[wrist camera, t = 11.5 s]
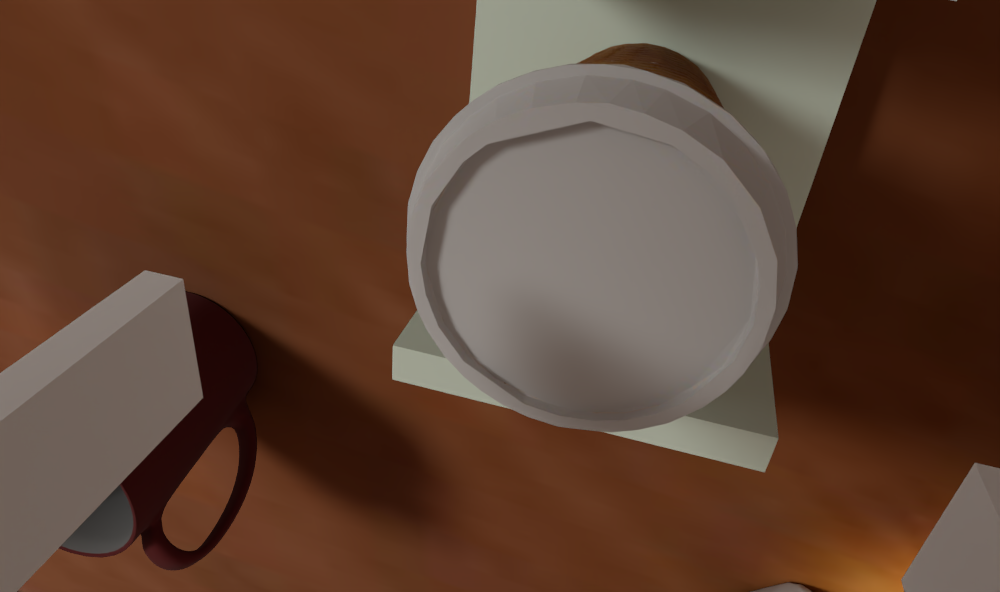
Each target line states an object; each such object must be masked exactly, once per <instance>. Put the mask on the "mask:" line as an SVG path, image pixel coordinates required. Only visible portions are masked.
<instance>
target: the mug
mask: <svg viewBox="0 0 1000 592" xmlns="http://www.w3.org/2000/svg"><path fill="white" fill-rule="evenodd" d="M185 293H186V299H187V305H188V311H189V317H190V323H191V328H192V334H193V340H194V346H195V352H196V358H197V364H198V370H199V376H200V381H201V387H202V393H203V398H202V399H201V400H200V401H199V402H198V403H197V405H196V406H195V407H194V408H193V409H192V410H191V411H190V412H189V413H188V414H187V415H186V416H185V417H184V418H183V419H182V420H181V421H180V422H179V423H178V424H177V425H176V426H175V427H174V428H173V430H172V431H171V432H170V433H169V434H168V435H167V436H166V437H165V438H164V439H163V440H162V441H161V442H160V443H159V444H158V445H157V446H156V447H155V448H154V449H153V450H152V451H151V452H150V453H149V454H148V456H147V457H146V458H145V459H144V460H143V461H142V462H141V463H140V464H139V465H138V466H137V467H136V468H135V469H134V470H133V471H132V472H131V473H130V474H129V475H128V476H127V477H126V478H125V479H124V480H123V482H122V483H121V484H120V485H119V486H118V487H117V488H116V489H115V490H114V491H113V492H112V493H111V494H110V495H109V496H108V497H107V498H106V499H105V500H104V501H103V502H102V503H101V504H100V505H99V506H98V508H97V509H96V510H95V511H94V512H93V513H92V514H91V515H90V516H89V517H88V518H87V519H86V520H85V521H84V522H83V523H82V524H81V525H80V526H79V527H78V528H77V529H76V530H75V531H74V532H73V534H72V535H71V536H70V537H69V538H68V539H67V540H66V541H65V542H64V543H63V544H62V545H61V546H60V547H59V549H62V550H65V551H67V552H70V553H74V554H79V555H83V556H88V557H107V556H113V555H116V554H119V553H121V552H123V551H124V550H126V549H127V548H128V547H129V546H130V545H131V544H132V543H133V542H134V541H135V540H136V538H137V537H138V536H139V535H140V534H141V536H142V544H143V549H144V551H145V553H146V555H147V556H148V558H149V559H150V560H151V561H152V562H153V563H154V564H156V565H157V566H159V567H160V568H163V569H166V570H180V569H184V568H187V567H189V566H191V565H193V564H194V563H196V562H198V561H199V560H200V559H202V558H203V557H205V556H206V555H207V554H208V553H209V552H210V551H211V550H212V549H213V548H214V547H215V546H216V545H217V544H218V542H219V541H220V540H221V539H222V537H223V536H224V534H225V533H226V532H227V530H228V529H229V527H230V525H231V524H232V522H233V521H234V519H235V517H236V515H237V513H238V512H239V510H240V508H241V506H242V503H243V501H244V499H245V497H246V494H247V492H248V489H249V486H250V483H251V480H252V476H253V472H254V468H255V461H256V452H257V437H256V428H255V424H254V421H253V418H252V415H251V413H250V411H249V408H248V406H247V403H246V395H247V393H248V391H249V390H250V389H251V387H252V385H253V383H254V382H255V379H256V375H257V360H256V355H255V352H254V349H253V346H252V344H251V342H250V340H249V338H248V336H247V335H246V333H245V332H244V330H243V329H242V328H241V326H240V325H239V324H238V323H237V322H236V321H235V320H234V319H233V318H232V316H230V315H229V314H228V313H227V312H226V311H225V310H223V309H222V308H221V307H219V306H218V305H216V304H215V303H213V302H211V301H210V300H208V299H206V298H203V297H201V296H199V295H196V294H193V293H189V292H185ZM226 427H232V428H233V429H235V431H236V433H237V436H238V441H239V466H238V473H237V477H236V481H235V485H234V488H233V491H232V494H231V496H230V499H229V501H228V503H227V505H226V508H225V510H224V512H223V513H222V515H221V517H220V519H219V521H218V522H217V524H216V526H215V527H214V529H213V530H212V532H211V533H210V535H209V536H208V538H207V539H206V540H205V542H204V543H203V544H202V545H201V546H200V547H199V548H198V549H197V550H194V551H184V550H181V549H178V548H177V547H175V546H174V545H172V544H171V543H170V542H169V540H168V539H167V538H166V536H165V534H164V532H163V528H162V521H161V517H162V514H163V511H164V508H165V506H166V504H167V502H168V501H169V499H170V498H171V496H172V495H173V493H174V492H175V490H176V489H177V488H178V486H179V485H180V483H181V482H182V481H183V479H184V478H185V477H186V475H187V474H188V473H189V471H190V470H191V469H192V467H193V466H194V465H195V463H196V462H197V461H198V459H199V458H200V457H201V455H202V454H203V453H204V451H205V450H206V449H207V447H208V446H209V445H210V443H211V442H212V441H213V439H214V438H215V437H216V436H217V435H218V433H219V432H220V431H221V430H222V429H223V428H226Z"/></svg>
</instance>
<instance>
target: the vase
mask: <svg viewBox="0 0 1000 592" xmlns="http://www.w3.org/2000/svg"><path fill="white" fill-rule="evenodd" d="M750 592H812V591H811V590H809V589H808V588H806V587H805V586H803V585H801V584H794V583H790V582H788V583H783V584H778V585H774V586H770V587H766V588H762V589H758V590H754V591H750Z"/></svg>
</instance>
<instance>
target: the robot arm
mask: <svg viewBox="0 0 1000 592" xmlns="http://www.w3.org/2000/svg"><path fill="white" fill-rule="evenodd" d="M202 398H203V393H202V387H201V381H200V376H199V370H198V364H197V358H196V352H195V346H194V340H193V334H192V328H191V323H190V317H189V311H188V305H187V299H186V293H185V287H184V281H183V279H180V278H176V277H172V276H168V275H163V274H159V273H155V272H150V271H146V270H145V271H143V272H142V273H141V274H139V275H138V276H136V277H135V278H134V279H132V280H131V281H129V282H128V283H127V284H125V285H124V286H122V287H121V288H119V289H118V290H117V291H115V292H114V293H112V294H111V295H110V296H108V297H107V298H105V299H104V300H103V301H101V302H100V303H98V304H97V305H96V306H94V307H93V308H91V309H90V310H89V311H87V312H86V313H84V314H83V315H82V316H80V317H79V318H77V319H76V320H74V321H73V322H72V323H70V324H69V325H67V326H66V327H65V328H63V329H62V330H60V331H59V332H58V333H56V334H55V335H53V336H52V337H51V338H49V339H48V340H46V341H45V342H44V343H42V344H41V345H39V346H38V347H36V348H35V349H34V350H32V351H31V352H29V353H28V354H27V355H25V356H24V357H22V358H21V359H20V360H18V361H17V362H15V363H14V364H13V365H11V366H10V367H8V368H7V369H6V370H4V371H3V372H1V373H0V592H17V591H18V590H19V589H20V588H21V587H22V586H23V584H24V583H25V582H26V581H27V580H28V579H29V578H30V577H31V576H32V575H33V574H34V573H35V572H36V571H37V570H38V569H39V568H40V567H41V566H42V565H43V564H44V563H45V562H46V561H47V560H48V558H49V557H50V556H51V555H52V554H53V553H54V552H55V551H56V550H57V549H58V548H59V547H60V546H61V545H62V544H63V543H64V542H65V541H66V540H67V539H68V538H69V537H70V536H71V535H72V534H73V532H74V531H75V530H76V529H77V528H78V527H79V526H80V525H81V524H82V523H83V522H84V521H85V520H86V519H87V518H88V517H89V516H90V515H91V514H92V513H93V512H94V511H95V510H96V509H97V508H98V506H99V505H100V504H101V503H102V502H103V501H104V500H105V499H106V498H107V497H108V496H109V495H110V494H111V493H112V492H113V491H114V490H115V489H116V488H117V487H118V486H119V485H120V484H121V483H122V482H123V480H124V479H125V478H126V477H127V476H128V475H129V474H130V473H131V472H132V471H133V470H134V469H135V468H136V467H137V466H138V465H139V464H140V463H141V462H142V461H143V460H144V459H145V458H146V457H147V456H148V454H149V453H150V452H151V451H152V450H153V449H154V448H155V447H156V446H157V445H158V444H159V443H160V442H161V441H162V440H163V439H164V438H165V437H166V436H167V435H168V434H169V433H170V432H171V431H172V430H173V428H174V427H175V426H176V425H177V424H178V423H179V422H180V421H181V420H182V419H183V418H184V417H185V416H186V415H187V414H188V413H189V412H190V411H191V410H192V409H193V408H194V407H195V406H196V405H197V403H198V402H199V401H200V400H201V399H202ZM902 584H903V588H904V592H1000V468H996V467H991V466H987V465H983V464H978V463H974V465H973V467H972V468H971V470H970V471H969V473H968V474H967V476H966V478H965V479H964V481H963V482H962V484H961V486H960V487H959V489H958V490H957V492H956V494H955V495H954V497H953V498H952V500H951V502H950V503H949V505H948V506H947V508H946V510H945V511H944V513H943V514H942V516H941V517H940V519H939V521H938V522H937V524H936V525H935V527H934V529H933V530H932V532H931V533H930V535H929V537H928V538H927V540H926V541H925V543H924V545H923V546H922V548H921V549H920V551H919V552H918V554H917V556H916V557H915V559H914V560H913V562H912V564H911V565H910V567H909V568H908V570H907V572H906V573H905V575H904V576H903V578H902Z"/></svg>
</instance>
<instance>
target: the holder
mask: <svg viewBox="0 0 1000 592" xmlns="http://www.w3.org/2000/svg"><path fill="white" fill-rule="evenodd" d="M876 1H877V0H477V7H476V21H475V34H474V48H473V62H472V75H471V89H470V102H469V104H470V103H471V102H472V101H473V100H474V99H476V98H477V97H479V96H481V95H482V94H484V93H485V92H487V91H489V90H490V89H492V88H493V87H495V86H497V85H498V84H500V83H503V82H505V81H508V80H511V79H513V78H516V77H519V76H521V75H524V74H527V73H529V72H532V71H535V70H541V69H546V68H551V67H556V66H561V65H566V64H576V63H578V62H580V61H582V60H584V59H586V58H588V57H590V56H592V55H593V54H595V53H597V52H600V51H602V50H604V49H607V48H609V47H612V46H617V45H622V44H635V43H648V44H653V45H658V46H662V47H666V48H668V49H671V50H673V51H675V52H677V53H679V54H681V55H682V56H684V57H686V58H687V59H689V60H690V61H691V62H693V63H694V64H695V65H697V66H698V67H699V68H700V70H701V71H702V72H703V73H704V75H705V76H706V77H707V78H708V80H709V82H710V83H711V85H712V87H713V89H714V90H715V92H716V94H717V97H718V98H719V100H720V102H721V104H722V106H723V107H724V109H726V110H727V111H729V112H730V113H731V114H732V115H733V116H734V117H735V118H736V119H737V120H738V121H739V122H740V123H741V124H742V125H743V126H744V127H745V129H746V130H747V131H748V132H749V133H750V134H751V135H752V136H753V137H754V138H755V139H756V140H757V141H758V143H759V144H760V145H761V147H762V148H763V149H764V151H765V152H766V154H767V155H768V157H769V158H770V160H771V161H772V163H773V164H774V166H775V168H776V170H777V172H778V174H779V176H780V178H781V180H782V182H783V184H784V186H785V188H786V190H787V193H788V197H789V200H790V204H791V208H792V212H793V216H794V220H795V224H796V228H797V225H798V223H799V220H800V217H801V214H802V211H803V208H804V205H805V203H806V200H807V197H808V194H809V191H810V188H811V186H812V183H813V180H814V177H815V174H816V171H817V169H818V166H819V163H820V160H821V157H822V154H823V151H824V149H825V146H826V143H827V140H828V137H829V134H830V132H831V129H832V126H833V123H834V120H835V117H836V115H837V112H838V109H839V106H840V103H841V100H842V97H843V95H844V92H845V89H846V86H847V83H848V80H849V78H850V75H851V72H852V69H853V66H854V63H855V61H856V58H857V55H858V52H859V49H860V46H861V43H862V41H863V38H864V35H865V32H866V29H867V26H868V24H869V21H870V18H871V15H872V12H873V9H874V6H875V4H876ZM952 1H957V0H952ZM392 379H393V380H397V381H401V382H405V383H409V384H413V385H417V386H421V387H425V388H429V389H433V390H437V391H441V392H445V393H449V394H453V395H457V396H461V397H465V398H469V399H473V400H477V401H481V402H485V403H489V404H493V405H497V406H501V407H505V408H508V407H506V406H504V405H502V404H501V403H499V402H498V401H496V400H494V399H493V398H491V397H490V396H488V395H487V394H485V393H484V392H482V391H481V390H479V389H478V388H477V387H476V386H475V385H473V384H472V383H471V382H470V381H468V380H467V379H466V378H465V377H464V376H463V375H462V374H461V373H460V372H459V371H458V370H457V369H456V368H455V367H454V366H453V365H452V364H451V363H450V362H449V360H448V359H447V358H446V357H445V356H444V355H443V354H442V352H441V351H440V349H439V348H438V346H437V345H436V343H435V342H434V340H433V339H432V337H431V336H430V334H429V333H428V331H427V330H426V328H425V325H424V323H423V321H422V319H421V317H420V315H419V313H418V310H417V311H416V313H415V314H414V316H413V317H412V319H411V320H410V321H409V323H408V324H407V326H406V327H405V329H404V330H403V332H402V333H401V334H400V336H399V337H398V339H397V340H396V342H395V343H394V344H393V364H392ZM509 409H510V408H509ZM601 432H602V431H601ZM605 433H609V434H613V435H617V436H621V437H625V438H629V439H633V440H637V441H641V442H645V443H649V444H653V445H657V446H661V447H665V448H669V449H673V450H677V451H681V452H685V453H689V454H693V455H697V456H701V457H705V458H709V459H713V460H717V461H721V462H725V463H729V464H733V465H738V466H742V467H746V468H750V469H754V470H758V471H762V472H765V470H766V468H767V465H768V463H769V460H770V458H771V455H772V453H773V451H774V448H775V446H776V443H777V441H778V429H777V420H776V410H775V401H774V391H773V382H772V372H771V362H770V353H769V343H768V344H767V345H766V346H765V347H764V349H763V350H762V351H761V352H760V353H759V355H758V356H757V357H756V358H755V359H754V361H753V362H752V363H751V364H750V366H749V367H748V368H747V370H746V371H745V373H744V374H743V375H742V376H741V377H740V378H739V379H738V380H737V381H736V382H735V383H734V384H733V385H732V386H731V387H730V388H729V389H728V390H727V391H726V392H724V393H723V394H722V395H720V396H719V397H717V398H716V399H714V400H713V401H712V402H710V403H709V404H707V405H706V406H705V407H703V408H701V409H699V410H696V411H694V412H692V413H690V414H688V415H685V416H683V417H681V418H679V419H677V420H674V421H672V422H670V423H667V424H663V425H658V426H654V427H649V428H645V429H640V430H632V431H620V432H605Z"/></svg>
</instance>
